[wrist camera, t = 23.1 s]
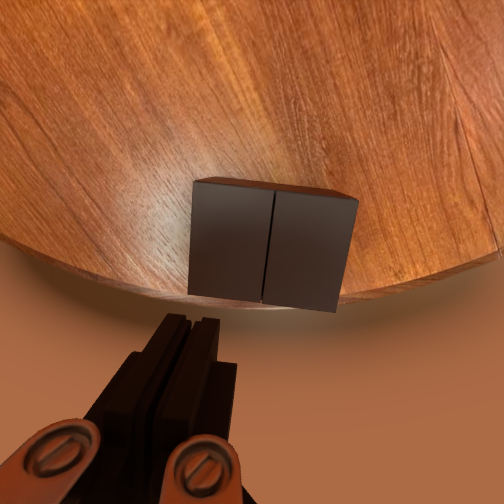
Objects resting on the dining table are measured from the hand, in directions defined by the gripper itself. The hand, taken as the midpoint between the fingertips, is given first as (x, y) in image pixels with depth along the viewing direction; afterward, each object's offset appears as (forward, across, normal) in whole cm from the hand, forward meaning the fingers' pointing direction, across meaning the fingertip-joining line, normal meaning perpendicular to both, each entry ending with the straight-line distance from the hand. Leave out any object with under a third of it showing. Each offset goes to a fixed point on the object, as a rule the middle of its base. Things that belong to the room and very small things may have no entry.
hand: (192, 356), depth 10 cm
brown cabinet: (+22, -3, 0) cm, 22 cm away
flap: (+13, 0, 0) cm, 13 cm away
